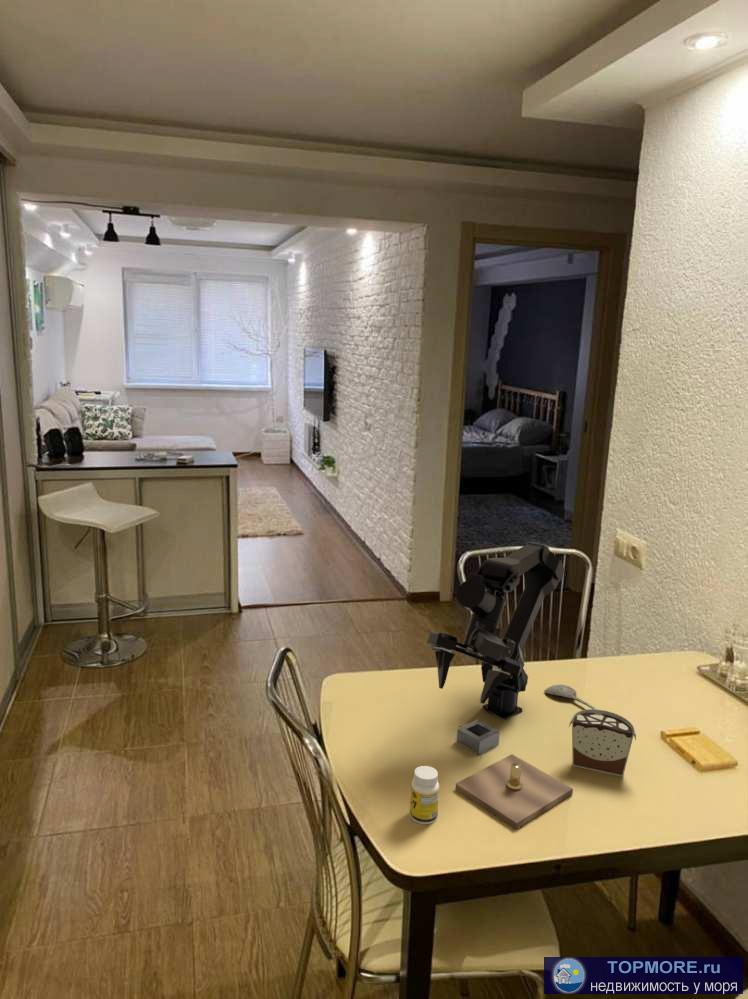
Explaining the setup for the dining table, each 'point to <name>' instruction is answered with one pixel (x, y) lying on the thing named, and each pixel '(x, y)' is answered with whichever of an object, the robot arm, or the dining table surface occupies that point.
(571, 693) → the soupspoon
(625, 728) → the slice of cake
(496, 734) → the grey square ring
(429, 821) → the supplement bottle
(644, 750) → the dining table surface
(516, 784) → the keeper peg
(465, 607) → the robot arm
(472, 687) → the dining table surface
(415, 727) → the dining table surface
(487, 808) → the keeper board
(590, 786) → the dining table surface
